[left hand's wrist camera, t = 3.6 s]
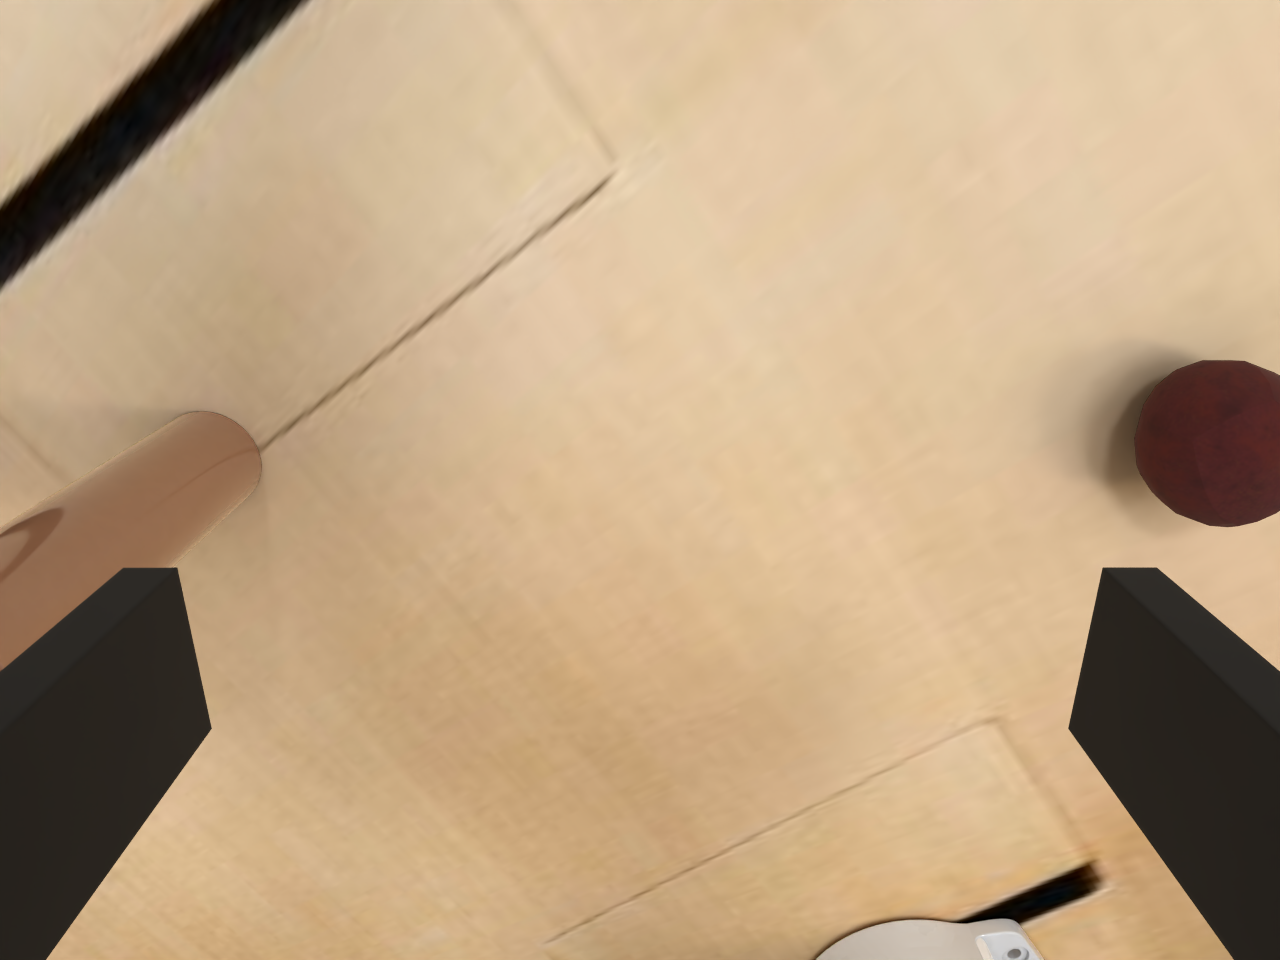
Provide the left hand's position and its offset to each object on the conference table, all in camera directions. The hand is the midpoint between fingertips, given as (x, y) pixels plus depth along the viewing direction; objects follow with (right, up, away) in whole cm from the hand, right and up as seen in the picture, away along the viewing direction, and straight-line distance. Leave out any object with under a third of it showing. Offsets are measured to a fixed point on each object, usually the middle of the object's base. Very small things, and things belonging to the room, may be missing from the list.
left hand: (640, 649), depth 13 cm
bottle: (-22, +3, +32) cm, 39 cm away
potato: (+27, +6, +32) cm, 42 cm away
